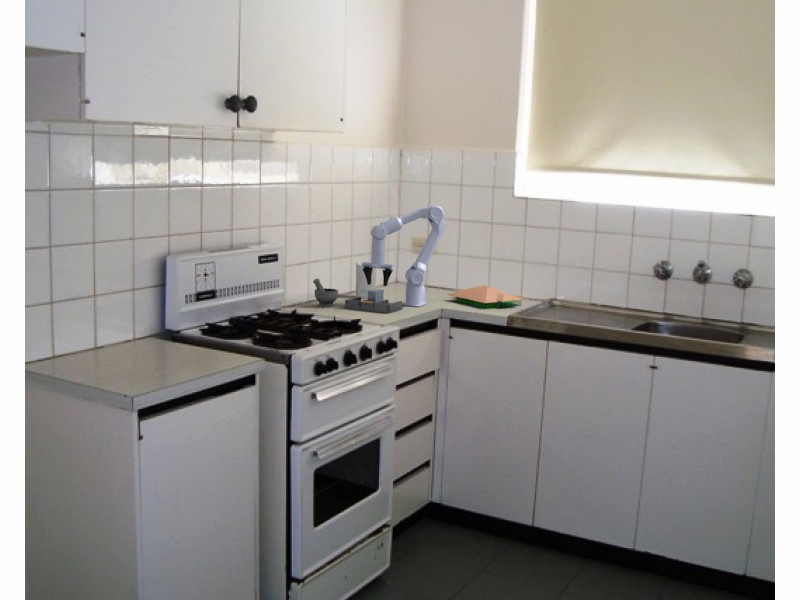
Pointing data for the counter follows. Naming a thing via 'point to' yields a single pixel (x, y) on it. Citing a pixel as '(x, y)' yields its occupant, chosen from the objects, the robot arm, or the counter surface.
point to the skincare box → (364, 281)
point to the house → (486, 296)
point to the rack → (373, 305)
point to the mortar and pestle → (325, 295)
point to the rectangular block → (376, 294)
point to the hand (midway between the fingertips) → (377, 285)
